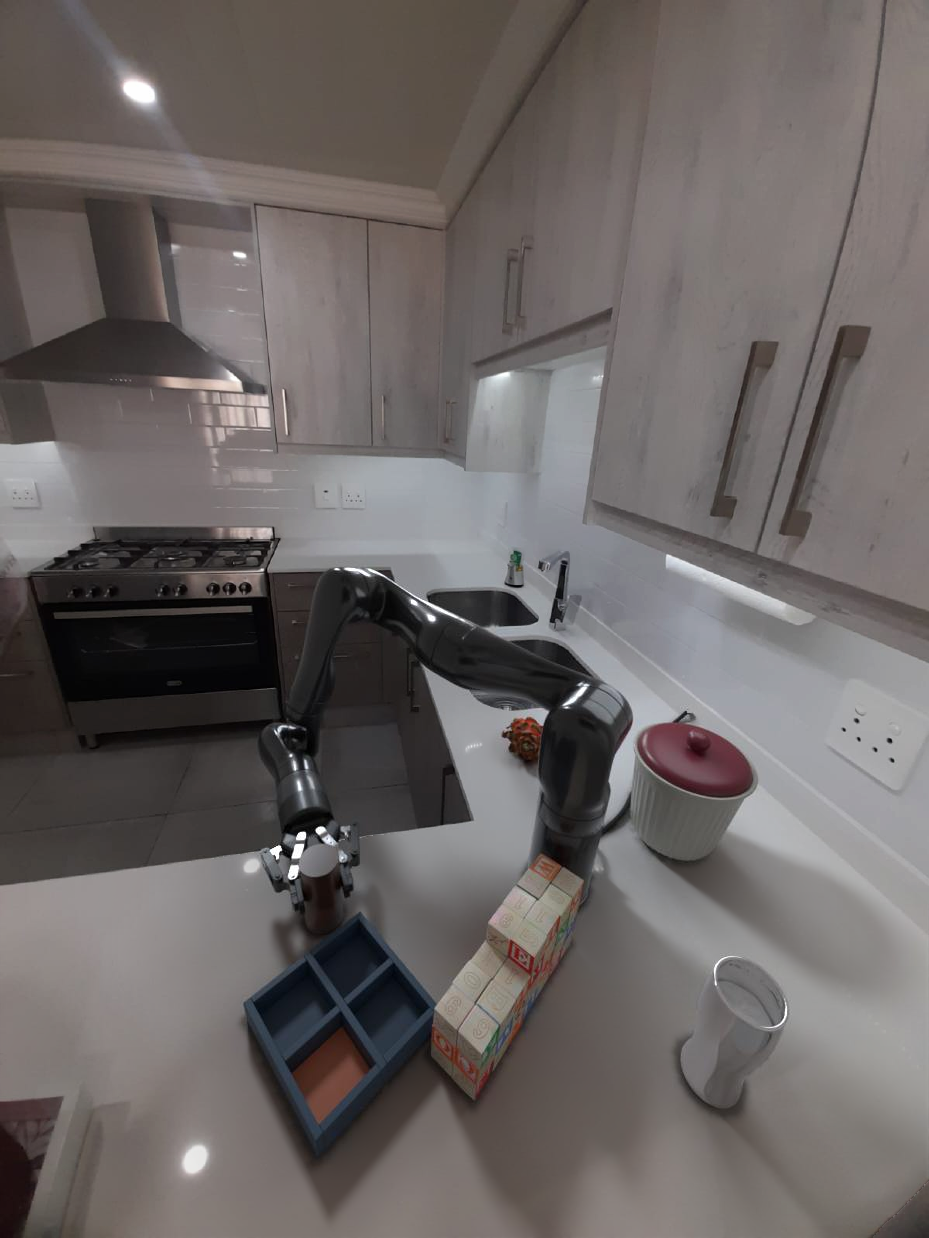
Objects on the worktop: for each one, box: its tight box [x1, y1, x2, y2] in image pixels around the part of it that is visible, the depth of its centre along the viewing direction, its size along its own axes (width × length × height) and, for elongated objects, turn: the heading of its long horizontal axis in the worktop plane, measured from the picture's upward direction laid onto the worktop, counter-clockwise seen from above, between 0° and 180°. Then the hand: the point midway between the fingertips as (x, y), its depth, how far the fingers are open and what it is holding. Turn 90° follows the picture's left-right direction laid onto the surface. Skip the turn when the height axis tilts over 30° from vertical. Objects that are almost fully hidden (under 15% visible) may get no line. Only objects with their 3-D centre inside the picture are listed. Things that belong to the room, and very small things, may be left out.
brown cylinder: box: [298, 844, 344, 935], centre depth 64 cm, size 5×5×11 cm
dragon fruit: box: [501, 716, 543, 763], centre depth 99 cm, size 8×8×12 cm
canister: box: [630, 721, 759, 862], centre depth 79 cm, size 18×18×21 cm
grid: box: [242, 911, 438, 1159], centre depth 55 cm, size 15×15×4 cm
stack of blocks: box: [430, 854, 584, 1101], centre depth 57 cm, size 21×6×12 cm, turn 142°
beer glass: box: [679, 955, 790, 1110], centre depth 50 cm, size 7×7×15 cm
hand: (325, 900), depth 62 cm, fingers closed on brown cylinder, 5 cm apart
